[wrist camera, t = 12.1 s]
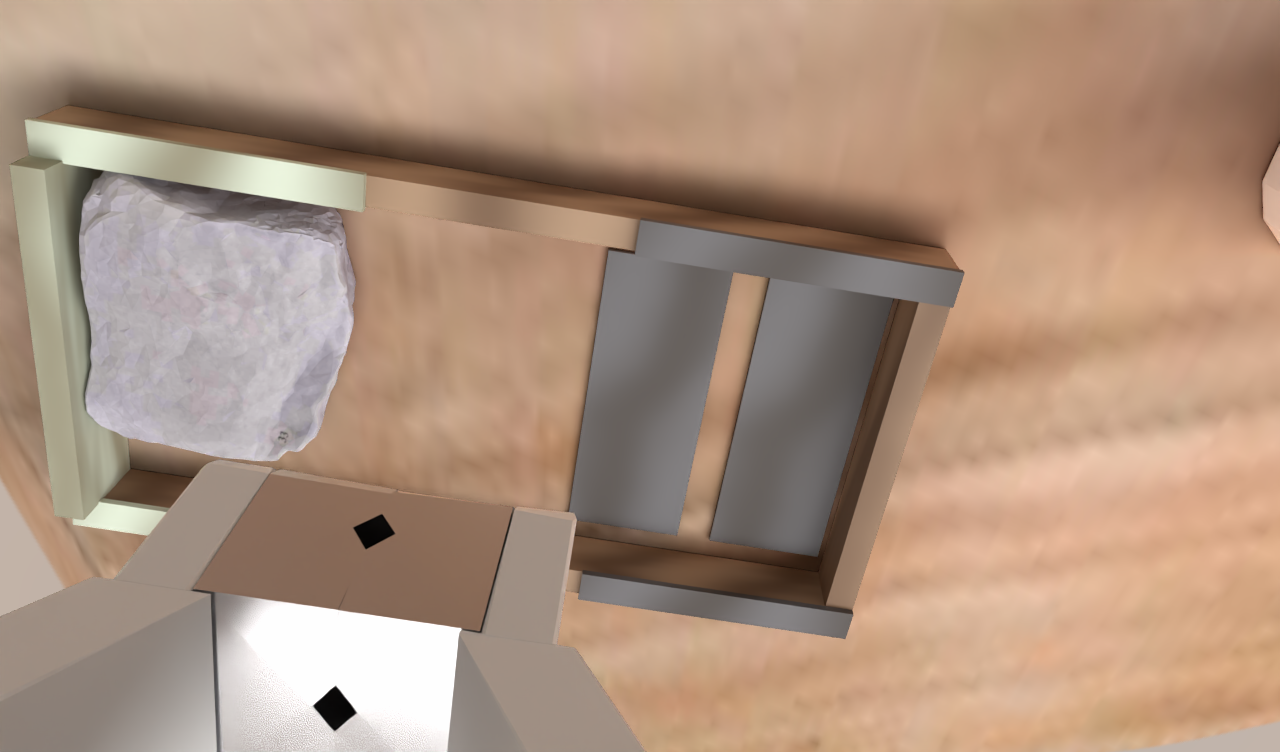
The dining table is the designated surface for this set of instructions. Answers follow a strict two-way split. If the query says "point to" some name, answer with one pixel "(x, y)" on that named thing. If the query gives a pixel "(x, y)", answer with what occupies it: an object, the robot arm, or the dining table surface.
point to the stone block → (212, 315)
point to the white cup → (1272, 196)
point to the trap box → (620, 371)
